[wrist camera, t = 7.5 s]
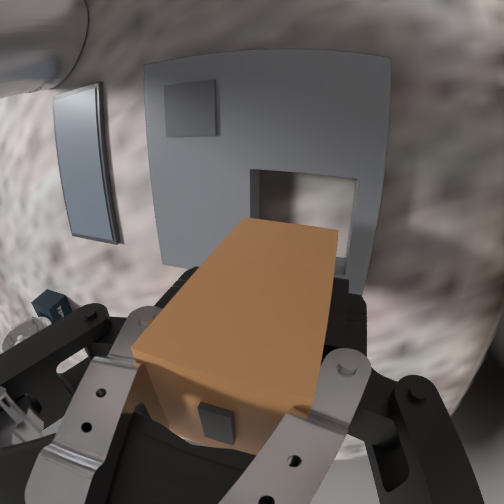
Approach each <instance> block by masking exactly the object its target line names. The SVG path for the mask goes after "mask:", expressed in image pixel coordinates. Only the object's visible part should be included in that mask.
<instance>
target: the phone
mask: <svg viewBox="0 0 504 504" xmlns="http://www.w3.org/2000/svg"><path fill="white" fill-rule="evenodd" d="M53 115H54V128H55V139H56V148H57V157H58V164H59V171H60V178H61V184H62V189H63V195H64V200H65V205H66V210H67V215H68V219H69V224H70V228H71V232H72V236H75V237H80V238H85V239H90V240H95V241H100V242H105V243H111V244H116V245H117V244H119V243H120V238H119V233H118V228H117V222H116V216H115V210H114V204H113V198H112V191H111V184H110V176H109V168H108V159H107V150H106V138H105V125H104V108H103V82H98V83H94V84H91V85H87V86H84V87H81V88H77V89H74V90H71V91H68V92H65V93H62V94H59V95H57V96H54V97H53Z"/></svg>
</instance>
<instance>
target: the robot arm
mask: <svg viewBox="0 0 504 504" xmlns="http://www.w3.org/2000/svg"><path fill="white" fill-rule="evenodd" d="M87 24H88V13H87V7H86V4H85V1H84V0H0V98H4V97H9V96H13V95H18V94H23V93H31V92H36V91H40V90H46V89H51V88H54V87H55V86H57V85H59V84H60V83H61V82H62V81H63V80H64V79H65V78H66V77H67V75H68V74H69V73H70V71H71V70H72V68H73V67H74V65H75V63H76V61H77V59H78V57H79V55H80V52H81V50H82V47H83V44H84V40H85V37H86V31H87ZM198 268H199V267H197V266H195V267H193V268H191V269H189V270H187V271H186V272H184V274H183V275H182V276H181V277H180V278H179V279H178V281H176V282H175V283H174V284H173V287H171V288H170V289H169V290H168V291H167V292H166V293H165V294H164V295H163V296H162V298H161V299H160V300H159V301H158V302H157V303H156V304H155V305H154V306H144V307H140V308H138V309H136V310H134V311H133V312H131V313H130V314H129V316H128V317H127V318H123V317H110V316H109V313H108V310H107V308H106V307H105V306H104V305H102V304H98V303H92V304H87V305H84V306H82V307H80V308H79V309H77V310H75V311H73V312H72V313H70V314H68V315H66V316H65V317H63V318H61V319H59V320H58V321H56V322H54V323H52V324H51V325H49V326H47V327H45V328H44V329H42V330H40V331H39V332H37V333H35V334H33V335H32V336H30V337H28V338H27V339H25V340H23V341H22V342H20V343H18V344H17V345H15V346H13V347H12V348H10V349H8V350H7V351H5V352H3V353H2V354H0V504H309V503H310V502H311V500H312V498H313V497H314V495H315V493H316V492H317V490H318V488H319V487H320V485H321V483H322V481H323V479H324V478H325V476H326V474H327V472H328V470H329V468H330V467H331V464H332V463H333V461H334V459H335V457H336V455H337V453H338V451H339V449H340V447H341V445H342V443H343V441H344V439H345V437H346V434H349V435H351V436H353V437H356V438H358V439H360V440H362V441H364V442H365V446H366V450H367V454H368V458H369V461H370V465H371V469H372V472H373V477H374V480H375V485H376V489H377V493H378V497H379V501H380V504H484V501H483V498H482V495H481V492H480V489H479V486H478V483H477V480H476V478H475V475H474V473H473V470H472V467H471V464H470V462H469V459H468V457H467V455H466V452H465V450H464V447H463V445H462V442H461V440H460V438H459V436H458V433H457V431H456V429H455V426H454V424H453V422H452V420H451V418H450V416H449V413H448V411H447V409H446V407H445V405H444V403H443V401H442V399H441V397H440V395H439V393H438V391H437V389H436V387H435V386H434V384H433V383H432V382H431V381H430V380H428V379H426V378H424V377H422V376H418V375H408V376H405V377H403V378H401V379H400V380H399V381H398V382H397V381H394V380H392V379H389V378H387V377H384V376H382V375H380V374H379V373H377V372H376V371H375V370H374V369H373V368H372V367H371V364H370V361H369V360H368V358H367V316H366V315H367V306H366V303H365V301H364V299H363V298H362V296H361V295H358V294H352V293H349V279H343V278H337V277H334V278H333V287H332V294H331V302H330V309H329V316H328V323H327V329H326V336H325V342H324V348H323V354H322V359H321V365H320V370H319V376H318V381H317V386H316V391H315V396H314V400H313V403H312V406H311V409H310V412H309V413H308V412H305V411H303V410H301V409H298V408H296V407H291V408H290V409H289V411H288V412H287V413H286V415H285V416H284V418H283V419H282V421H281V422H280V424H279V425H278V427H277V428H276V429H275V431H274V432H273V434H272V435H271V437H270V438H269V439H268V441H267V442H266V444H265V445H264V446H263V448H262V449H261V450H260V452H259V453H258V454H257V455H254V454H250V453H246V452H242V451H239V450H235V449H227V448H215V447H205V446H196V445H192V444H189V443H188V442H186V441H185V440H183V439H182V438H180V437H179V436H177V435H176V434H175V433H173V432H172V431H170V430H169V423H168V421H167V419H166V416H165V414H164V412H163V409H162V407H161V404H160V402H159V400H158V397H157V395H156V392H155V389H154V387H153V384H152V382H151V379H150V376H149V374H148V371H147V368H146V365H145V363H140V362H136V361H135V358H134V356H133V353H132V350H131V346H132V345H133V344H134V343H135V342H136V340H137V339H138V338H139V337H140V336H141V334H142V333H143V332H144V331H145V330H146V329H147V327H148V326H149V325H150V324H151V323H152V321H153V320H154V319H155V318H156V317H157V316H158V314H159V313H160V312H161V311H162V310H163V309H164V307H165V306H166V305H167V304H168V303H169V302H170V300H171V299H172V298H173V297H174V296H175V295H176V293H177V292H178V291H179V290H180V289H181V288H182V286H183V285H184V284H185V283H186V282H187V281H188V280H189V278H190V277H191V276H192V275H193V274H194V273H195V272H196V270H197V269H198ZM83 348H84V349H85V351H86V353H87V355H88V358H86V359H84V360H83V361H81V362H80V363H78V364H77V365H75V366H74V367H72V368H70V369H69V370H67V371H66V372H64V373H56V368H57V366H58V365H59V364H60V363H61V362H62V361H64V360H65V359H67V358H69V357H70V356H72V355H73V354H75V353H77V352H78V351H80V350H81V349H83ZM63 416H64V417H63ZM62 417H63V420H62V422H61V424H60V426H59V429H58V431H57V433H54V434H51V435H47V436H45V434H44V432H43V430H44V429H45V428H47V427H48V426H50V425H51V424H53V423H54V422H56V421H57V420H59V419H60V418H62Z"/></svg>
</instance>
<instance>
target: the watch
mask: <svg viewBox="0 0 504 504" xmlns="http://www.w3.org/2000/svg"><path fill="white" fill-rule="evenodd" d="M31 303H32V305H33V307H34V309H35V311H36V313H37V315H38V317H30V318H28V319H25V320H23V321H21V322H20V323H18V324H16V325H15V326H13V327H12V328H11V330H10V331H9V332H8V333H7V334H6V335H5V336H4V338H3V340H2V342H1V345H0V351H1V353H3V352H5V351H7V350H8V349H10V348H12V347H13V346H15V345H17V344H18V343H20V342H22V341H23V340H25V339H27V338H28V337H30V336H32V335H33V334H35V333H37V332H39V331H40V330H42V329H44V328H45V327H47V326H49V325H51V324H52V323H54V322H56V321H58V320H59V319H61V318H63V317H65V316H66V315H68V314H70V313H72V310H71V307H70V305H69V303H68V301H67V298H66V296H65V295H63V294H60V293H57V292H53V291H50V290H46V291H45V292H43V293H42V294H41V295H40V296H39V297H37V298H36V299H35V300H34V301H33V302H31Z"/></svg>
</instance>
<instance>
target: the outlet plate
mask: <svg viewBox="0 0 504 504" xmlns="http://www.w3.org/2000/svg"><path fill="white" fill-rule="evenodd" d="M390 94H391V58H389V57H383V56H376V55H369V54H361V53H353V52H342V51H330V50H311V49H262V50H243V51H230V52H220V53H211V54H203V55H196V56H189V57H183V58H177V59H171V60H166V61H161V62H156V63H151V64H147V65H144V99H145V119H146V134H147V147H148V158H149V168H150V178H151V187H152V195H153V203H154V211H155V218H156V225H157V232H158V238H159V245H160V251H161V257H162V263H163V265H169V266H174V267H180V268H185V269H191V268H193V267H195V266H197V267H200V266H201V265H202V264H203V262H204V261H205V260H206V259H207V258H208V257H209V256H210V255H211V253H212V252H213V251H214V250H215V249H216V248H217V247H218V246H219V244H220V243H221V242H222V241H223V240H224V239H225V238H226V237H227V236H228V234H229V233H230V232H231V231H232V230H233V229H234V228H235V227H236V226H237V224H238V223H239V222H240V221H241V220H242V219H243V218H244V217H246V218H254V219H260V170H274V171H287V172H298V173H309V174H319V175H328V176H336V177H344V178H352V179H356V185H355V194H354V202H353V210H352V218H351V225H350V232H349V239H348V246H347V252H346V258H339V257H336V260H335V270H334V277H337V278H343V279H349V293H352V294H358V295H361V296H362V294H363V290H364V285H365V281H366V277H367V272H368V268H369V263H370V258H371V253H372V248H373V243H374V238H375V232H376V227H377V221H378V215H379V209H380V202H381V195H382V188H383V180H384V172H385V164H386V154H387V143H388V131H389V116H390Z"/></svg>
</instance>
